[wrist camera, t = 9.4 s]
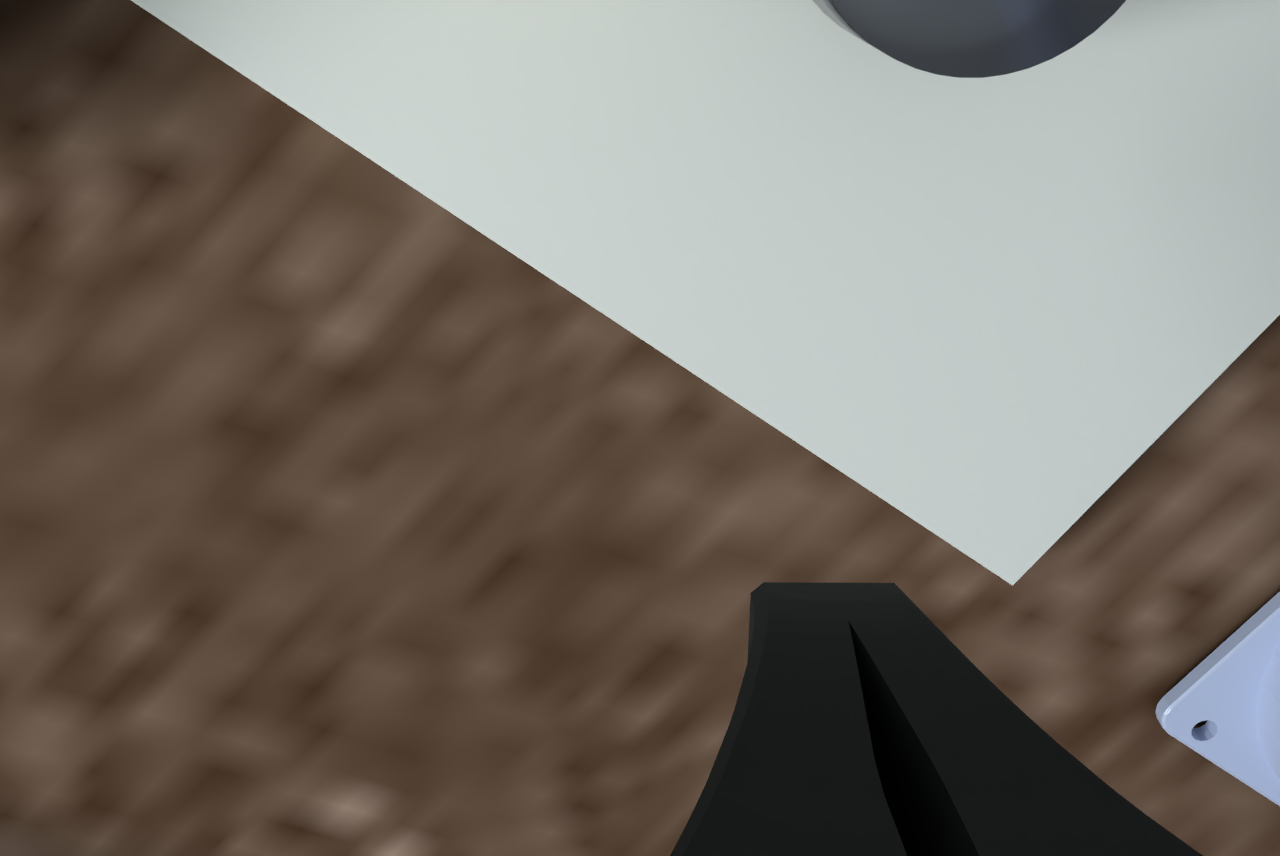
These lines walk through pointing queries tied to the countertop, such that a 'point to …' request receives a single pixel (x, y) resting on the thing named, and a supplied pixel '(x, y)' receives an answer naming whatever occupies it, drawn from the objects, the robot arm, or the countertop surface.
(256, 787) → the countertop surface
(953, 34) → the grey and tan piece
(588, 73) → the dial board
